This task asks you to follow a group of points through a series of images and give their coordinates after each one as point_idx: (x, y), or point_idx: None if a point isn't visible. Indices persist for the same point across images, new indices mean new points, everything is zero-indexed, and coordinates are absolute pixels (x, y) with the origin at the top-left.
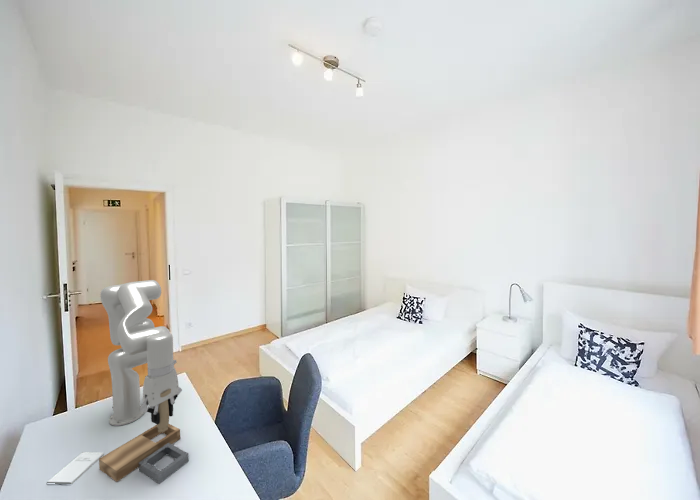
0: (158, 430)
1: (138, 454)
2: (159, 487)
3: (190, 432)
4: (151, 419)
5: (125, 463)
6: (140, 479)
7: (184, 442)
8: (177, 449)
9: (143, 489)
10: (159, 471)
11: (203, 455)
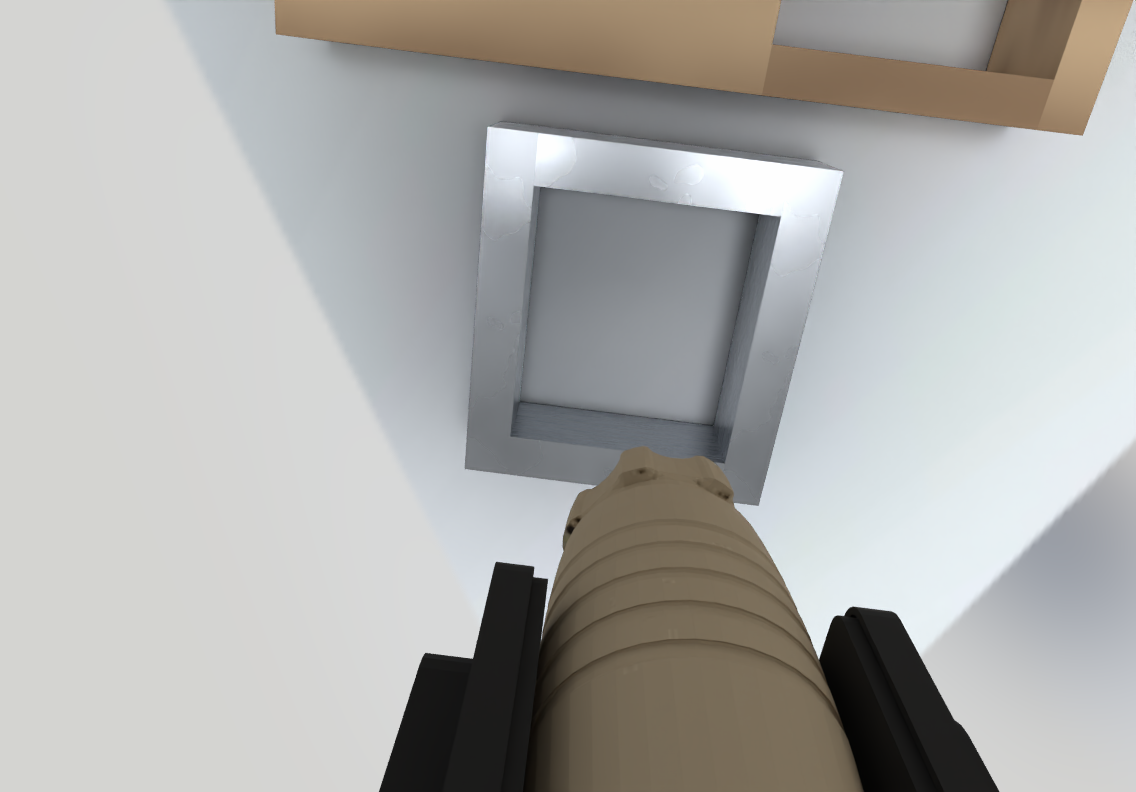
0: (567, 535)
1: (544, 28)
2: (460, 457)
3: (1131, 153)
4: (414, 690)
5: (387, 19)
6: (445, 238)
7: (957, 228)
8: (774, 366)
9: (394, 359)
10: (498, 436)
11: (833, 529)
